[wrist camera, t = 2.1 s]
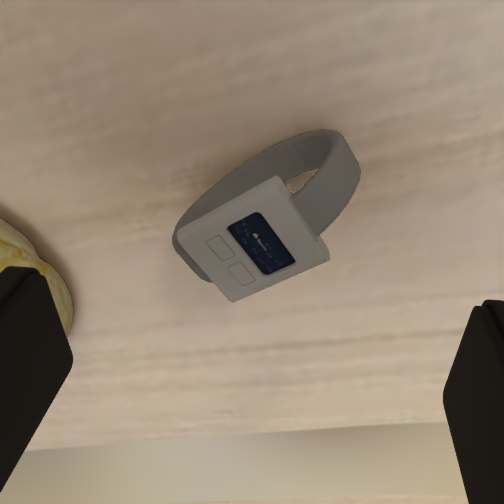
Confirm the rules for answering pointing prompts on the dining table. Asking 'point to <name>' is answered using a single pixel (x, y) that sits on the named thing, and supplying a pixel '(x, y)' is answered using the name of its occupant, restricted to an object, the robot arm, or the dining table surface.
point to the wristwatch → (268, 215)
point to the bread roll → (24, 255)
